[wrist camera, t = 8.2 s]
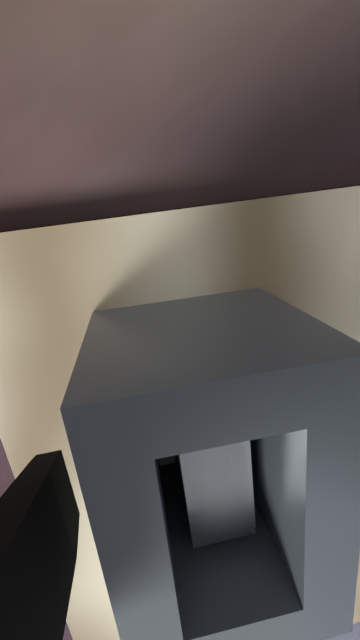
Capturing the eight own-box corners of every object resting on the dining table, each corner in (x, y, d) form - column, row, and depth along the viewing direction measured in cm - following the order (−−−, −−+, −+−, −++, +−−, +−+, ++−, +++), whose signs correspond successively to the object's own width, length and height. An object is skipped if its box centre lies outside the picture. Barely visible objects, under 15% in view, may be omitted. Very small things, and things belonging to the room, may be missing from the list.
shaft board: (432, 176, 11) (461, 172, 10) (385, 588, 17) (399, 610, 16) (-51, 238, 9) (-70, 241, 8) (96, 668, 16) (94, 697, 15)
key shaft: (209, 348, 10) (248, 409, 7) (218, 441, 12) (255, 532, 8) (158, 356, 10) (174, 425, 7) (173, 451, 11) (193, 548, 8)
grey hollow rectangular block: (259, 287, 10) (378, 352, 5) (265, 471, 12) (352, 631, 8) (92, 311, 9) (60, 409, 5) (130, 499, 12) (133, 692, 7)
